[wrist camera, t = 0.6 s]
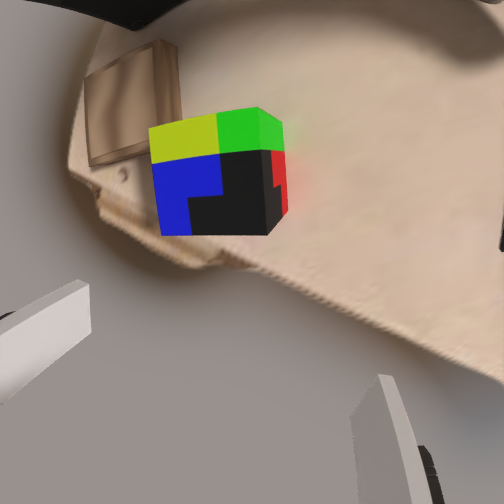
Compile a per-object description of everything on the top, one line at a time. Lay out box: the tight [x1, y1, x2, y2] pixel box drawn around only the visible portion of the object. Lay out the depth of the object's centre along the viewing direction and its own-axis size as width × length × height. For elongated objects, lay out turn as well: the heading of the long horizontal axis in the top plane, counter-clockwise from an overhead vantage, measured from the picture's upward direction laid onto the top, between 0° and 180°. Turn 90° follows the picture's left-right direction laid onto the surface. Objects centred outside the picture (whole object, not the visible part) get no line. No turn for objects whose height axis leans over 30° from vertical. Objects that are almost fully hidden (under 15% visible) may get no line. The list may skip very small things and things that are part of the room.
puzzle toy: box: [149, 107, 288, 236], centre depth 26 cm, size 10×10×10 cm
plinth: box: [84, 39, 182, 167], centre depth 29 cm, size 14×14×4 cm
